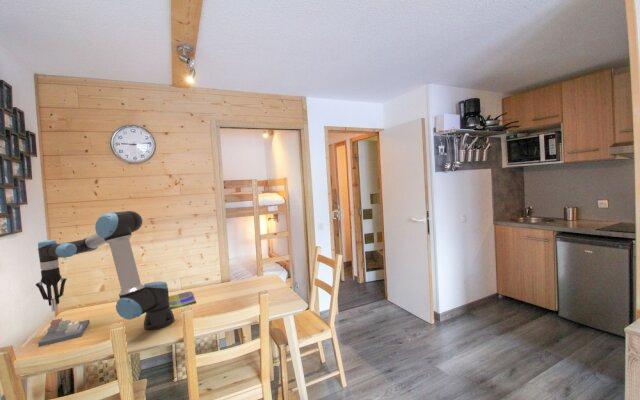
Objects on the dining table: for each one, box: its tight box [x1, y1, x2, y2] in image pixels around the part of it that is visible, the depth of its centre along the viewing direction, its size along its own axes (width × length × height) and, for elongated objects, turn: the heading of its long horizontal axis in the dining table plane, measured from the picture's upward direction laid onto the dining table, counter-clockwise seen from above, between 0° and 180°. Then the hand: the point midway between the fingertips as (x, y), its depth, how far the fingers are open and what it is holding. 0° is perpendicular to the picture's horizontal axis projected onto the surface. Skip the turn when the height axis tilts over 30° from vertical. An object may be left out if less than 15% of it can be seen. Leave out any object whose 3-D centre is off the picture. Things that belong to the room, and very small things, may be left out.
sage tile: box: [59, 319, 72, 330], centre depth 161 cm, size 4×4×3 cm
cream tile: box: [68, 320, 80, 331], centre depth 158 cm, size 4×4×3 cm
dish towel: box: [169, 290, 197, 310], centre depth 198 cm, size 18×24×3 cm
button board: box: [37, 319, 90, 348], centre depth 161 cm, size 20×17×4 cm
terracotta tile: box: [49, 317, 63, 328], centre depth 164 cm, size 4×4×3 cm
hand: (55, 310), depth 163 cm, fingers closed
